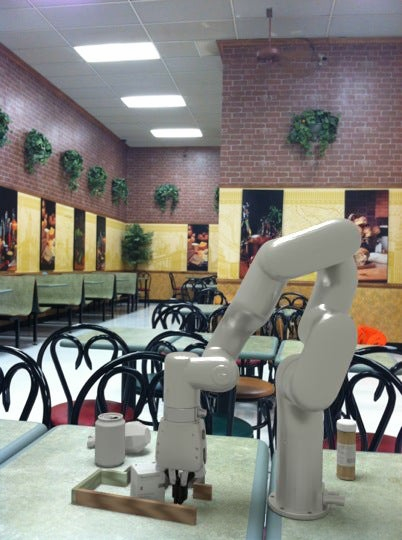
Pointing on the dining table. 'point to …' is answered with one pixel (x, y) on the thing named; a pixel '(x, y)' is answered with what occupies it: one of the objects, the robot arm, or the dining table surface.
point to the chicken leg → (131, 437)
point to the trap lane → (134, 505)
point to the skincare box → (147, 482)
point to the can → (110, 440)
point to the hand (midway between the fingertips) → (179, 501)
